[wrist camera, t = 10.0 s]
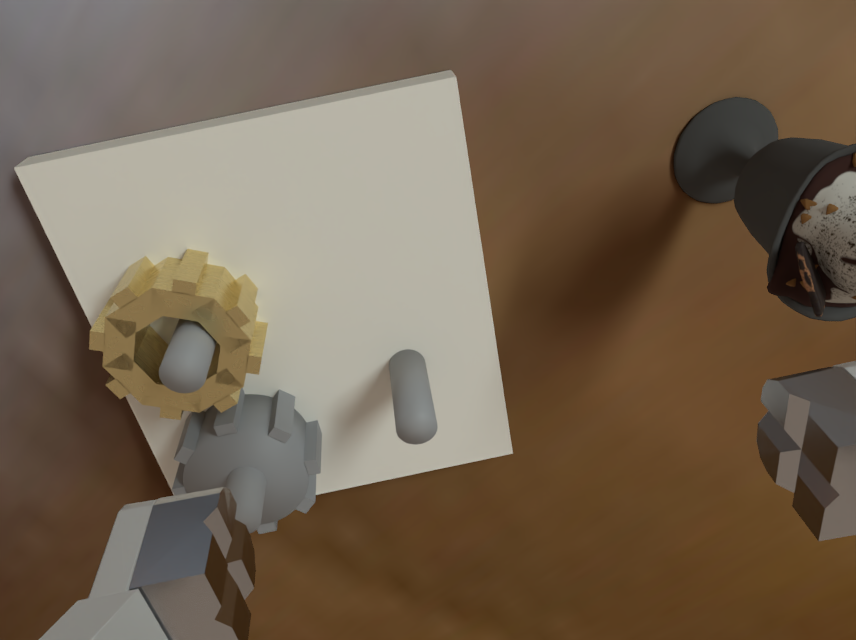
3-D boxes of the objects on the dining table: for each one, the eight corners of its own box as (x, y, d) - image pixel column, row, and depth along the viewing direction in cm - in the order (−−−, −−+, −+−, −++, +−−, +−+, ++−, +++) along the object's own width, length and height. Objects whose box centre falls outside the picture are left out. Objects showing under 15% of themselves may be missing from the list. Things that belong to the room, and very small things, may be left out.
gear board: (28, 157, 29) (-53, 218, 23) (450, 69, 30) (479, 107, 23) (191, 502, 39) (165, 607, 33) (507, 435, 40) (537, 529, 33)
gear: (75, 300, 31) (52, 334, 29) (201, 220, 30) (188, 248, 27) (180, 404, 34) (167, 443, 32) (297, 336, 33) (293, 371, 31)
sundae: (818, 86, 32) (1153, 200, 19) (761, 226, 35) (1013, 407, 22) (683, 64, 30) (939, 169, 17) (636, 210, 34) (824, 392, 21)
